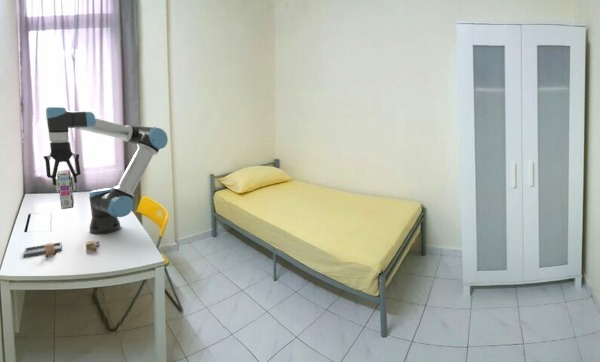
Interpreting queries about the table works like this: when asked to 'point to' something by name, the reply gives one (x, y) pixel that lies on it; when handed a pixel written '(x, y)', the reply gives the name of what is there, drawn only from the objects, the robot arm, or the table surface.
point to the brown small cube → (49, 249)
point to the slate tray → (40, 249)
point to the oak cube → (90, 246)
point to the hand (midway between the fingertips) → (66, 190)
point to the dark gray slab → (97, 243)
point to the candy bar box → (65, 189)
